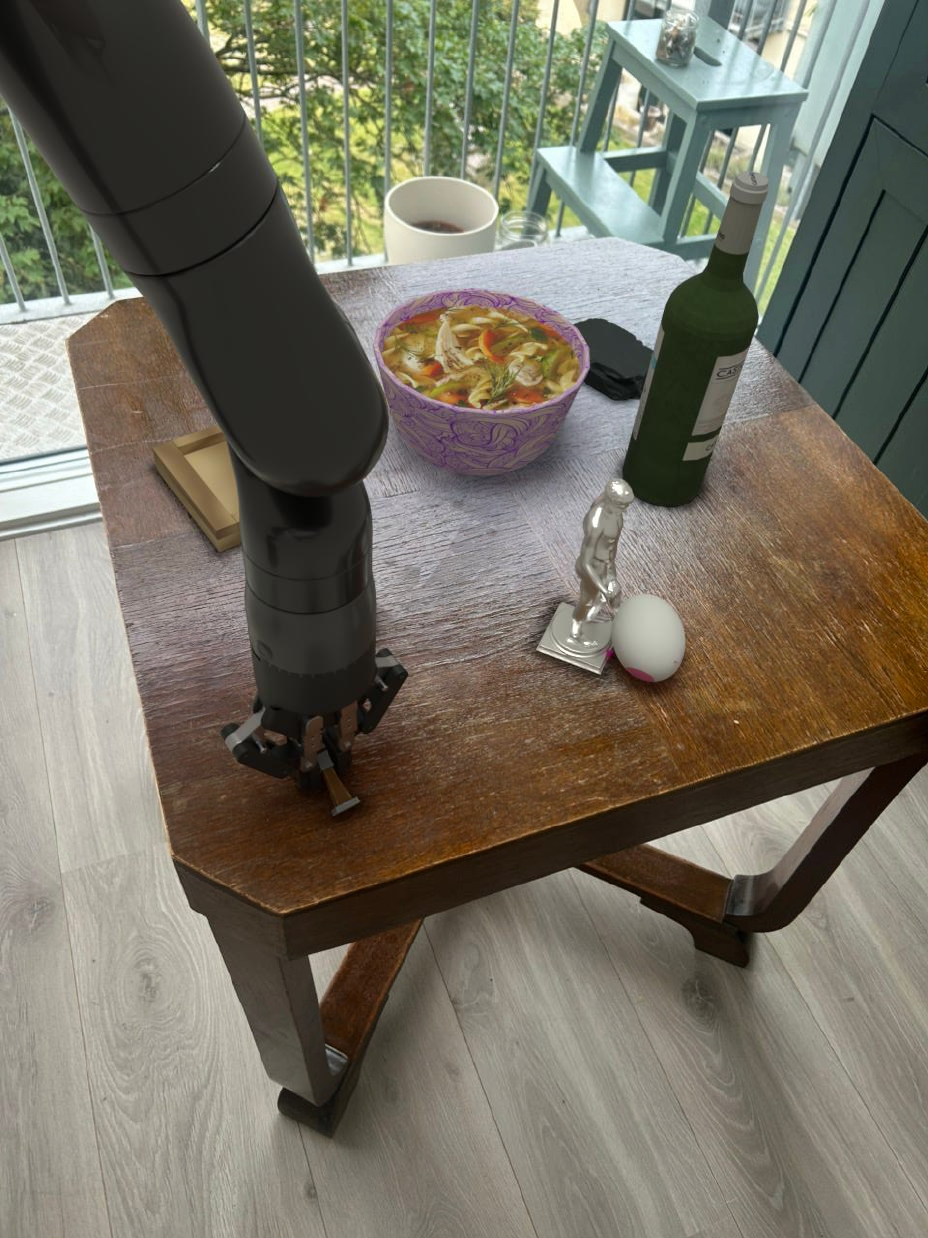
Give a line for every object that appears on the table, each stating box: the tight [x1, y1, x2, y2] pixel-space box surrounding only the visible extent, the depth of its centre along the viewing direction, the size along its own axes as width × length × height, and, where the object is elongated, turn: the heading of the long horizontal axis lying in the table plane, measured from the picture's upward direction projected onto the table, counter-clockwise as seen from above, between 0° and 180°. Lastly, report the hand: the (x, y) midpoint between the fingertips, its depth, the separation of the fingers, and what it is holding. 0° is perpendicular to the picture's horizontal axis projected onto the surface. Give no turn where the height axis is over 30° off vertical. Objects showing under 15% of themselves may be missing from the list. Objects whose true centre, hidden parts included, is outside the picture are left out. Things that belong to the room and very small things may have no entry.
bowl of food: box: [372, 287, 590, 477], centre depth 92 cm, size 20×20×12 cm
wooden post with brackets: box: [317, 742, 361, 817], centre depth 69 cm, size 2×8×4 cm, turn 33°
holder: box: [151, 424, 241, 553], centre depth 88 cm, size 10×13×3 cm
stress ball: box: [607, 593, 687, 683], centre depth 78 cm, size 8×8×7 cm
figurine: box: [535, 477, 635, 676], centre depth 73 cm, size 8×7×18 cm
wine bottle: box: [621, 170, 770, 507], centre depth 83 cm, size 8×8×30 cm
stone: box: [572, 317, 654, 401], centre depth 105 cm, size 8×12×3 cm
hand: (321, 776), depth 69 cm, fingers closed on wooden post with brackets, 1 cm apart
